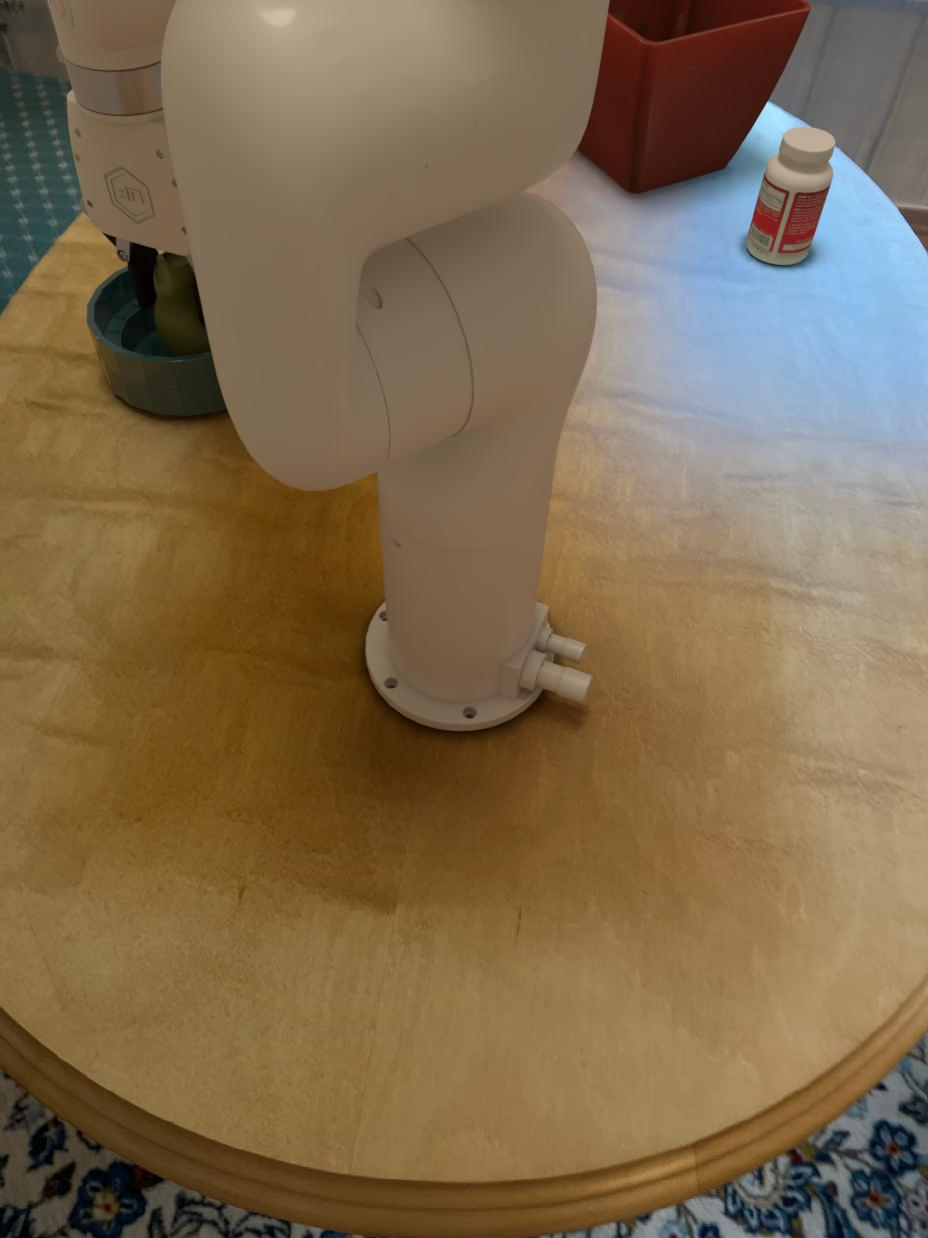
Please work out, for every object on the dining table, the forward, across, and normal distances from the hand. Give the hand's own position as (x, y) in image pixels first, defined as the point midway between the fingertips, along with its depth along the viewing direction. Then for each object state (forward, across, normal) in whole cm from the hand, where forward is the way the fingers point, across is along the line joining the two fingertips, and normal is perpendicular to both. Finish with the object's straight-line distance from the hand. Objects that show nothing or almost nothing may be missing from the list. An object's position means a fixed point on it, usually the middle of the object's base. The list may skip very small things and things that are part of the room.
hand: (183, 306), depth 80 cm
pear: (+5, 0, 0) cm, 5 cm away
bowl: (+6, 0, 0) cm, 6 cm away
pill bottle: (+6, +42, +39) cm, 58 cm away
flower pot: (+6, +25, +51) cm, 57 cm away
